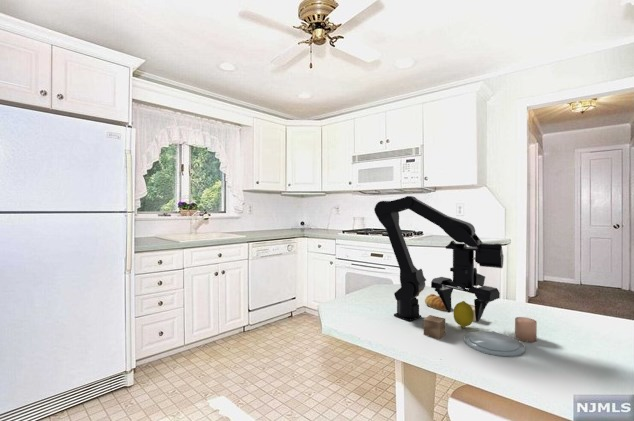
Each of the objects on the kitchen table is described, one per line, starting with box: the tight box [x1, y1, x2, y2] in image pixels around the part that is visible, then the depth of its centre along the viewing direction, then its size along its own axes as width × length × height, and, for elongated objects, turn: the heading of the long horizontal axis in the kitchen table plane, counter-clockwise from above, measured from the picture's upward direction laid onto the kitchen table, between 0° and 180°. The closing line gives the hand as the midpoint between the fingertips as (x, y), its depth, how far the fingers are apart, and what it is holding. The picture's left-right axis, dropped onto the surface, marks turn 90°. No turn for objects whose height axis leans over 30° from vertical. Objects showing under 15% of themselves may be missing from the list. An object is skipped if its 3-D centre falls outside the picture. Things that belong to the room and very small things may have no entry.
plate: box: [463, 330, 526, 358], centre depth 86 cm, size 14×14×1 cm
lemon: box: [452, 300, 474, 329], centre depth 97 cm, size 6×6×8 cm
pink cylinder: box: [514, 316, 538, 343], centre depth 90 cm, size 5×5×5 cm
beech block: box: [468, 303, 477, 323], centre depth 106 cm, size 6×4×4 cm, turn 32°
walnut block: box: [423, 314, 446, 340], centre depth 93 cm, size 4×4×4 cm
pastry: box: [424, 293, 447, 311], centre depth 117 cm, size 9×7×4 cm
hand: (463, 316), depth 97 cm, fingers open, 9 cm apart
